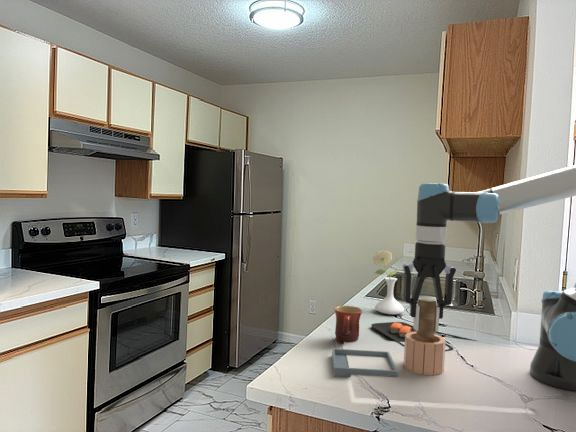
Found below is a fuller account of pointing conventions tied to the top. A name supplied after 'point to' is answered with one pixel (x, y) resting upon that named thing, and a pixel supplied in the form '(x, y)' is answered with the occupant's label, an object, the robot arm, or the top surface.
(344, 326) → the mug
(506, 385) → the top surface
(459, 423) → the top surface
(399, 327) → the sushi plate
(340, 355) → the tray
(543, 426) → the top surface
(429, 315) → the peg
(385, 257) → the flower in vase
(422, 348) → the cup
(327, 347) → the top surface
